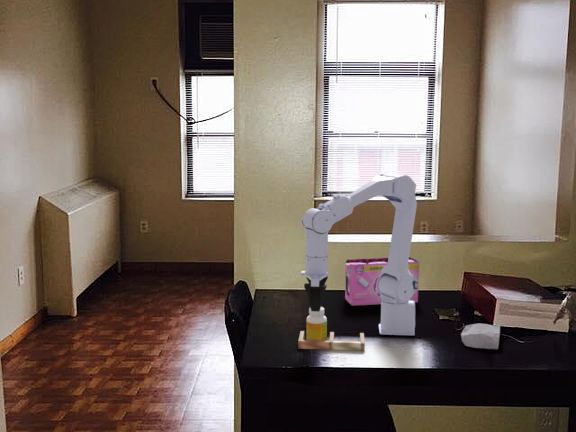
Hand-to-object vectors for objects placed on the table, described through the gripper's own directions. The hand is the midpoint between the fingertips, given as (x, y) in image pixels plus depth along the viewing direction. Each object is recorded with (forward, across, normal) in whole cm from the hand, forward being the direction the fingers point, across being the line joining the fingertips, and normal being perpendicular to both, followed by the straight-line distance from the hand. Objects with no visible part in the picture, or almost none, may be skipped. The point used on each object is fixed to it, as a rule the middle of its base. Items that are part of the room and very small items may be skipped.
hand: (316, 306), depth 166 cm
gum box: (+11, -43, +19) cm, 49 cm away
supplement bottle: (+11, -1, 0) cm, 11 cm away
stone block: (+11, -8, +44) cm, 46 cm away
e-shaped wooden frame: (+10, -1, +4) cm, 11 cm away
